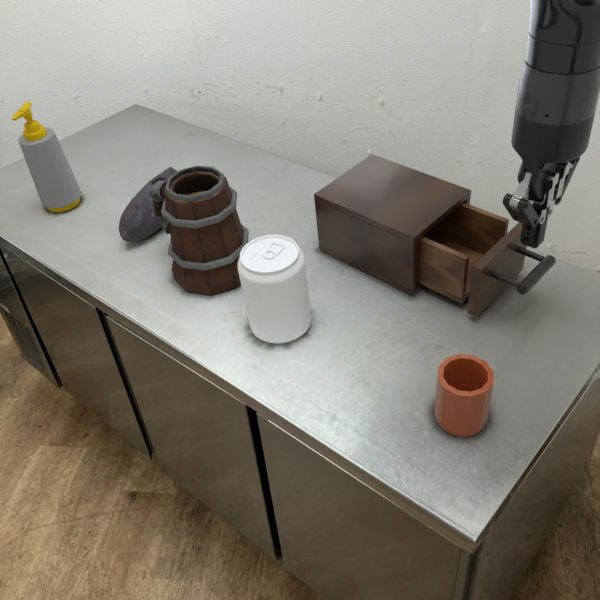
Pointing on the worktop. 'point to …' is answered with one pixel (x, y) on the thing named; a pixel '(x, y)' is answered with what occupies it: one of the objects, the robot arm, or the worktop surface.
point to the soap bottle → (47, 164)
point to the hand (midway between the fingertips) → (531, 242)
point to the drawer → (476, 258)
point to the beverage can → (275, 288)
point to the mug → (201, 228)
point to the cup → (463, 394)
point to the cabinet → (383, 218)
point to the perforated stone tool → (141, 212)
